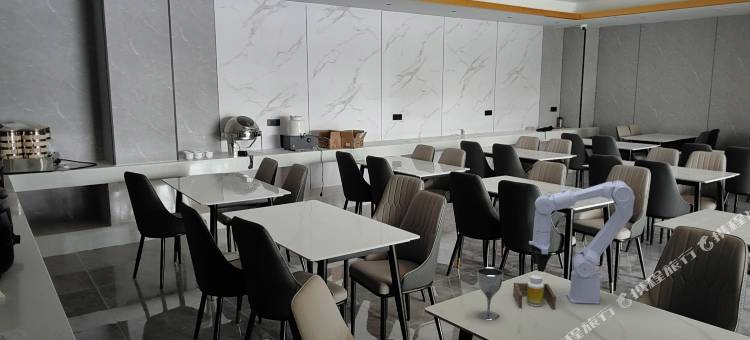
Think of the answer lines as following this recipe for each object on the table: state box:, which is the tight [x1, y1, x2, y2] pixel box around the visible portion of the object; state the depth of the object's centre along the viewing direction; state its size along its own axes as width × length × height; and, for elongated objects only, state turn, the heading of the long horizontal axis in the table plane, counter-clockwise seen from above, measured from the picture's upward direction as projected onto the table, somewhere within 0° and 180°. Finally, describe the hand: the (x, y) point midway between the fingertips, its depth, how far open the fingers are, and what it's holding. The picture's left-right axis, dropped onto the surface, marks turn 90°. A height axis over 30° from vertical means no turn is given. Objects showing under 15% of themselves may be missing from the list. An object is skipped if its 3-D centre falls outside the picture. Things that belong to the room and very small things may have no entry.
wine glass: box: [477, 266, 504, 321], centre depth 188 cm, size 8×8×15 cm
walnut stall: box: [512, 282, 557, 310], centre depth 200 cm, size 12×12×4 cm
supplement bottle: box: [526, 274, 545, 307], centre depth 198 cm, size 5×5×10 cm
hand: (538, 267), depth 205 cm, fingers open, 7 cm apart
